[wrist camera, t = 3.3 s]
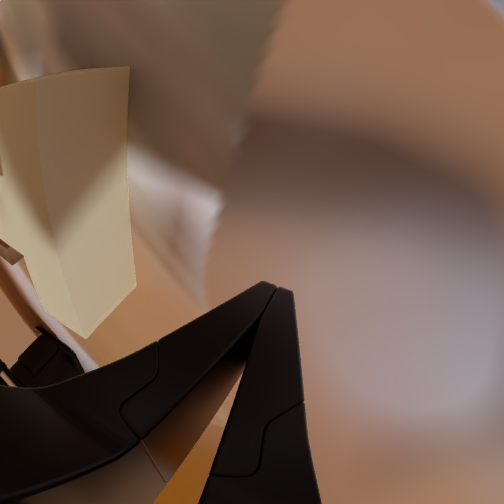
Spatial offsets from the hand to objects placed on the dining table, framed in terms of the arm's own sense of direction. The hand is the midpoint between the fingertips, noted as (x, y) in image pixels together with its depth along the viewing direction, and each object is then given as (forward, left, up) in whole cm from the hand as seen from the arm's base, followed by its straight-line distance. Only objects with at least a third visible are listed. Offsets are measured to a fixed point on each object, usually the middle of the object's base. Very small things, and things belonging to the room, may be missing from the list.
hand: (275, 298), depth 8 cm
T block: (0, +11, -2) cm, 11 cm away
